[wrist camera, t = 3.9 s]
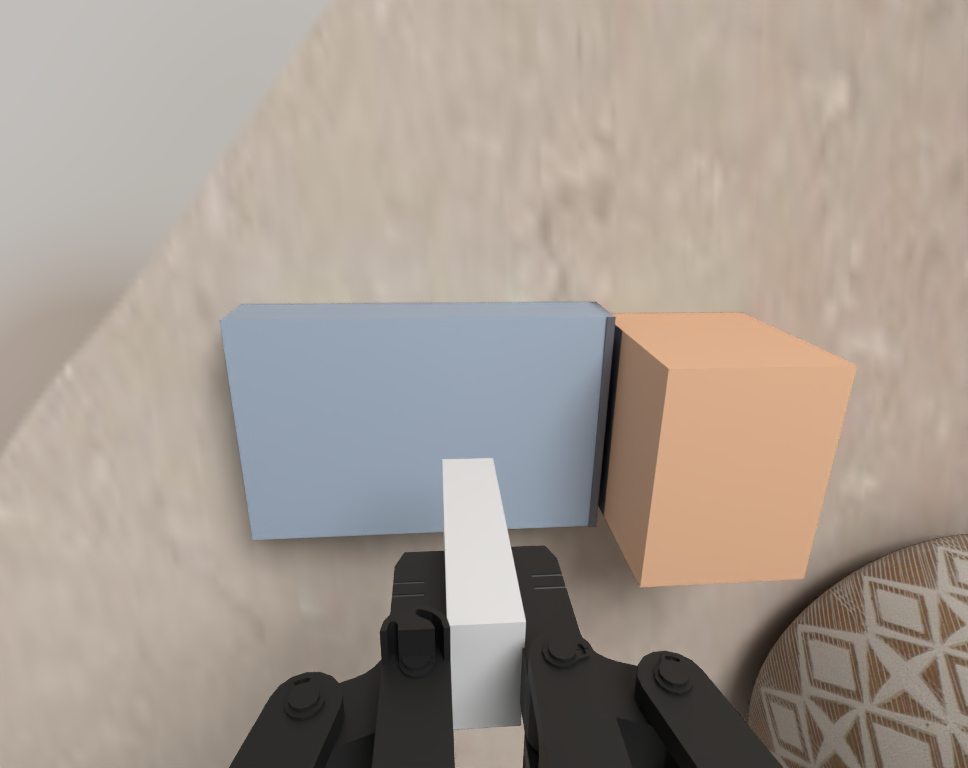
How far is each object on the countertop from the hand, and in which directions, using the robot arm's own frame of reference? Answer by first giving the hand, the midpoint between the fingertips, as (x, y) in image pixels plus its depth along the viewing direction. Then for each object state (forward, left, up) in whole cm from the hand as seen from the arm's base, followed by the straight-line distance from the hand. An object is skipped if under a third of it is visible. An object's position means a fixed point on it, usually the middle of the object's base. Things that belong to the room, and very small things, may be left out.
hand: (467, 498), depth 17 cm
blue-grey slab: (-1, 0, -8) cm, 8 cm away
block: (+9, 0, -8) cm, 12 cm away
